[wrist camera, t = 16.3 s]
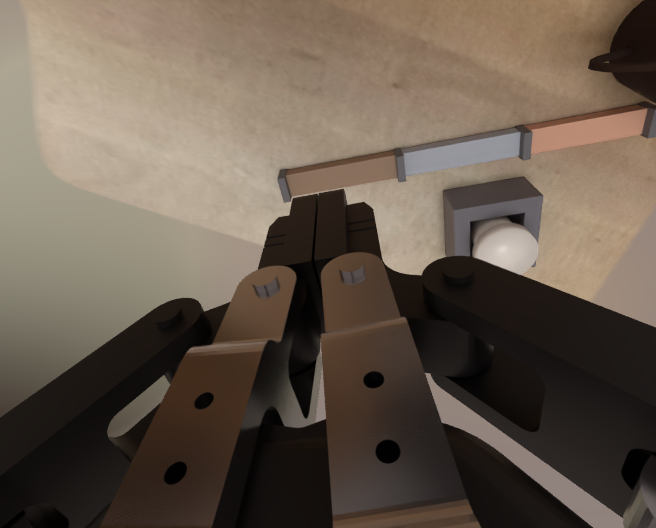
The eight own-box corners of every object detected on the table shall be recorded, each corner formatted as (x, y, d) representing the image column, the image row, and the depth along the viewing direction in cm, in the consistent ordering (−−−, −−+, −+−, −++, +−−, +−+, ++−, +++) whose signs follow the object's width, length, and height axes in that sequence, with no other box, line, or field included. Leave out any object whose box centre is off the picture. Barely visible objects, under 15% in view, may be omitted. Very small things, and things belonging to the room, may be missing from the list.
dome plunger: (457, 202, 36) (477, 235, 31) (512, 193, 35) (541, 225, 30) (458, 246, 39) (476, 284, 34) (509, 238, 38) (535, 275, 33)
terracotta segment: (515, 126, 33) (524, 133, 31) (646, 102, 32) (663, 107, 30) (513, 152, 34) (522, 160, 32) (639, 129, 33) (656, 136, 31)
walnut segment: (280, 170, 35) (277, 179, 34) (393, 149, 34) (396, 157, 32) (286, 193, 36) (283, 202, 35) (396, 173, 35) (399, 182, 34)
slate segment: (393, 149, 34) (396, 157, 32) (515, 126, 33) (524, 133, 31) (396, 173, 35) (399, 182, 34) (513, 152, 34) (522, 160, 32)
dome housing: (443, 190, 36) (453, 210, 33) (523, 176, 35) (543, 195, 32) (445, 254, 40) (455, 278, 36) (518, 243, 39) (535, 266, 36)
